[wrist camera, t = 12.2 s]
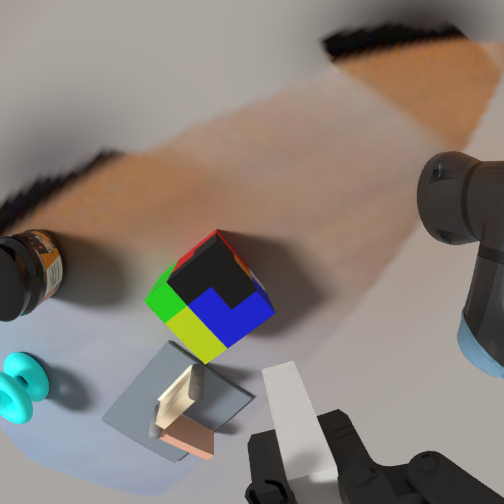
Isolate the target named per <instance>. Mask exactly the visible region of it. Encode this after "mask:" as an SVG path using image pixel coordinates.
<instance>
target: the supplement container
mask: <svg viewBox="0 0 504 504" xmlns="http://www.w3.org/2000/svg"><path fill="white" fill-rule="evenodd" d="M65 271H66V267H65V259H64V255H63V252H62V250H61V248H60V246H59V244H58V243H57V242H56V240H55V239H54V238H53V237H52V236H51V235H49V234H48V233H46V232H44V231H41V230H37V229H32V230H27V231H25V232H22V233H19V234H15V235H12V236H7V237H2V238H0V321H3V322H9V321H12V320H14V319H16V318H17V317H19V316H24V315H27V314H29V313H31V312H32V311H33V310H34V309H35V308H36V307H37V306H38V305H40V304H41V303H42V302H44V301H45V300H47V299H48V298H49V297H51V296H53V295H54V294H56V293H57V292H58V290H59V289H60V288H61V286H62V284H63V281H64V278H65Z"/></svg>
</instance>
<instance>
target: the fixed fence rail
mask: <svg viewBox="0 0 504 504" xmlns="http://www.w3.org/2000/svg"><path fill="white" fill-rule="evenodd" d="M204 375H205V368H204V366H203V365H202V364H194V365H193V366H192V368H191V370H190V371H189V372H188V373H187V374H186V375H185V376H184V377H183V378H182V379H181V380H180V381H179V382H178V383H177V384H176V385H175V386H174V387H173V389H172V390H171V391H170V392H169V393H168V394H167V395H166V396H165V397H164V398H163V399H162V400H161V402H160V406H159V410H158V414H157V419H156V423H155V424H156V425H158V426H159V427H161V428H163V429H165V428H167V427H168V426H169V425H170V424H171V423H172V422H173V421H174V420H175V419H176V418H177V417H179V416H180V415H181V414H182V413H183V412H184V411H185V410H186V409H187V408H188V407H189V406H190V405H191V404H192V403H193V402H195V401H199V400H201V399H202V398H203V393H204Z"/></svg>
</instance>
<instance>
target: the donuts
mask: <svg viewBox="0 0 504 504" xmlns="http://www.w3.org/2000/svg"><path fill="white" fill-rule="evenodd" d="M21 376H22V377H23V378H24V379H25V380H26V381H27V383H28V384H27V383H26V382H25V381H24V380H23V379H22V378H21ZM48 392H49V381H48V378H47V375H46V373H45V372H44V370H43V369H42V367H41V366H40V365H39V364H38V362H37V361H35V360H34V359H33V358H32V357H30V356H28V355H26V354H24V353H19V352H15V353H12V354H10V355H9V356H8V357H7V358H6V360H5V363H4V372H0V415H2V416H3V417H4V418H5V419H7V420H9V421H11V422H13V423H17V424H24V423H27V422H28V421H30V419H31V418H32V415H33V406H32V402H31V401H33V402H38V401H41V400H43V399H45V398H46V396H47V395H48Z"/></svg>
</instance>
